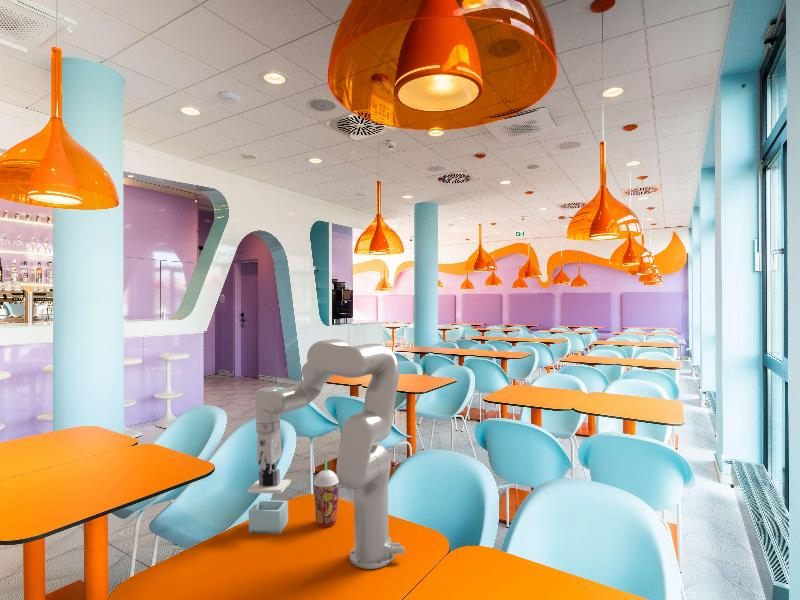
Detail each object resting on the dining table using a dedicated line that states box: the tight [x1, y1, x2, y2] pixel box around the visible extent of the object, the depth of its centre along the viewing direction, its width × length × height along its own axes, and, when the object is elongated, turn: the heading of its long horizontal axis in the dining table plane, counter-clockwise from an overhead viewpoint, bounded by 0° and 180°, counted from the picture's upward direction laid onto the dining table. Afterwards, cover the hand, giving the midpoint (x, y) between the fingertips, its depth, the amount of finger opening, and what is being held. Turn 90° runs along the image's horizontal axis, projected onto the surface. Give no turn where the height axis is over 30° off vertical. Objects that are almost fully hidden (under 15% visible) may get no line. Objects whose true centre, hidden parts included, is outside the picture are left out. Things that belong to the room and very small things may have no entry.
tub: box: [248, 499, 289, 535], centre depth 152 cm, size 10×8×7 cm
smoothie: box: [312, 461, 340, 528], centre depth 155 cm, size 8×8×20 cm
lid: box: [247, 468, 292, 494], centre depth 152 cm, size 11×9×6 cm
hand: (269, 483), depth 152 cm, fingers closed on lid
